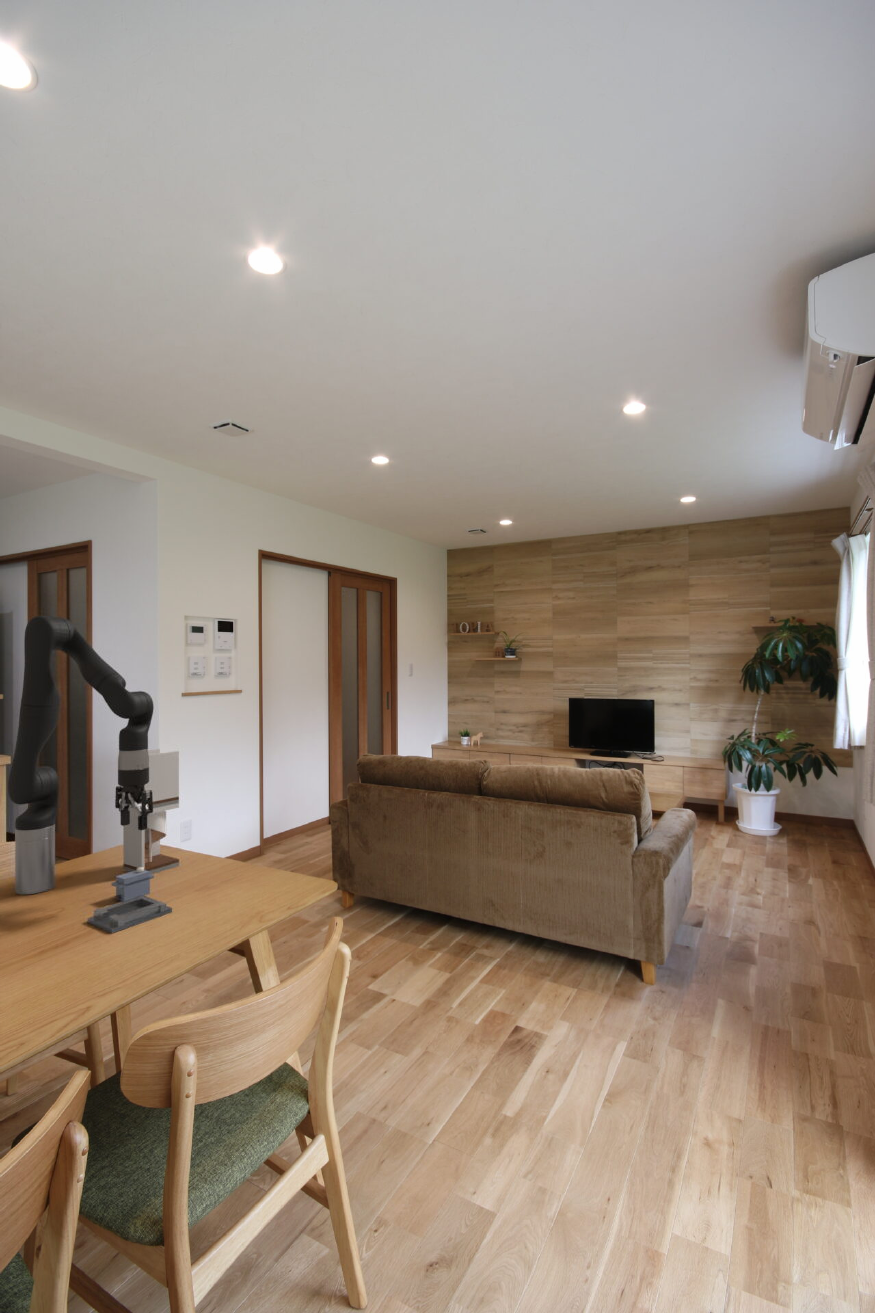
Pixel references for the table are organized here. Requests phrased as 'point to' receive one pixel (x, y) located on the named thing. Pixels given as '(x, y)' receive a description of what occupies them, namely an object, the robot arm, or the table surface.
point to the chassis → (128, 913)
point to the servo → (132, 884)
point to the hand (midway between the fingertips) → (133, 827)
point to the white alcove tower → (153, 816)
